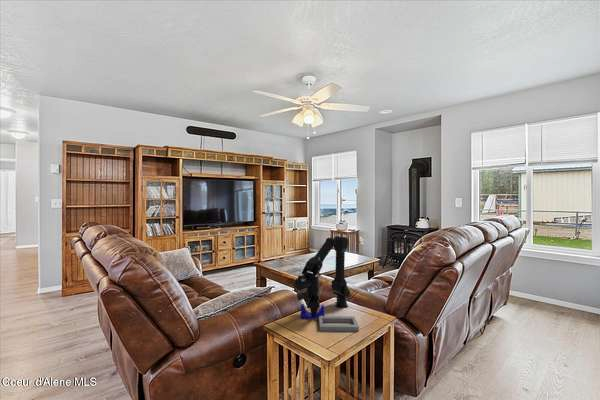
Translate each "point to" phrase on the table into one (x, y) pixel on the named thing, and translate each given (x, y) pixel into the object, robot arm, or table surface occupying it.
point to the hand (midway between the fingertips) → (312, 315)
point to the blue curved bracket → (307, 315)
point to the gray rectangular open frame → (336, 326)
